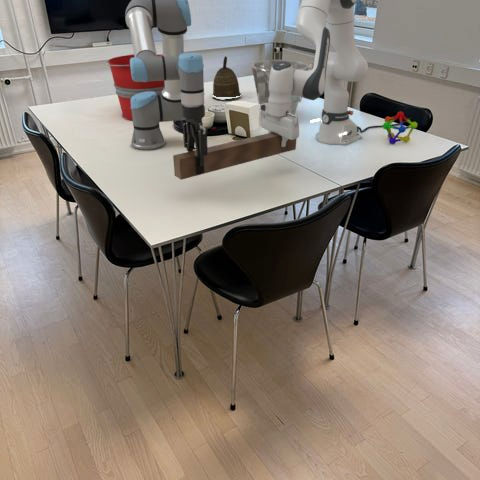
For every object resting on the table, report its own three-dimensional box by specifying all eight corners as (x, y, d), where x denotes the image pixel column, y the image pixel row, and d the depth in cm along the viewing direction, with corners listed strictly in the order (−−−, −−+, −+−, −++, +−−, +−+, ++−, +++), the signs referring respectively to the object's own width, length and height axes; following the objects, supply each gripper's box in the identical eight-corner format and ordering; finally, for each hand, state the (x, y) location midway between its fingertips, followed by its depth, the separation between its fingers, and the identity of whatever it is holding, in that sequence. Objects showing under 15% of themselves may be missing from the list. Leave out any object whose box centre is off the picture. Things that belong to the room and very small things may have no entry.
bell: (227, 105, 294) (202, 96, 282) (238, 66, 289) (213, 55, 277) (243, 108, 280) (217, 98, 268) (255, 66, 275) (229, 55, 263)
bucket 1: (122, 105, 263) (114, 51, 248) (180, 106, 263) (177, 52, 247) (105, 123, 234) (95, 63, 218) (171, 124, 233) (166, 64, 217)
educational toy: (377, 146, 209) (379, 114, 202) (384, 138, 219) (386, 107, 211) (411, 149, 202) (415, 116, 195) (417, 141, 212) (420, 109, 204)
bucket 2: (277, 130, 226) (280, 73, 211) (239, 117, 245) (239, 64, 230) (315, 118, 243) (320, 65, 228) (277, 107, 261) (279, 57, 247)
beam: (180, 179, 152) (179, 159, 148) (174, 175, 155) (172, 155, 151) (295, 149, 177) (297, 131, 174) (288, 146, 181) (289, 128, 177)
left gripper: (217, 108, 140) (219, 176, 152) (189, 97, 152) (193, 161, 165) (196, 112, 136) (200, 182, 149) (170, 100, 149) (175, 165, 161)
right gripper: (304, 114, 161) (301, 150, 168) (269, 101, 175) (268, 135, 182) (291, 116, 158) (288, 153, 165) (256, 104, 172) (256, 138, 179)
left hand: (196, 170), depth 157 cm, fingers closed on beam, 5 cm apart
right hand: (277, 144), depth 174 cm, fingers closed on beam, 4 cm apart
